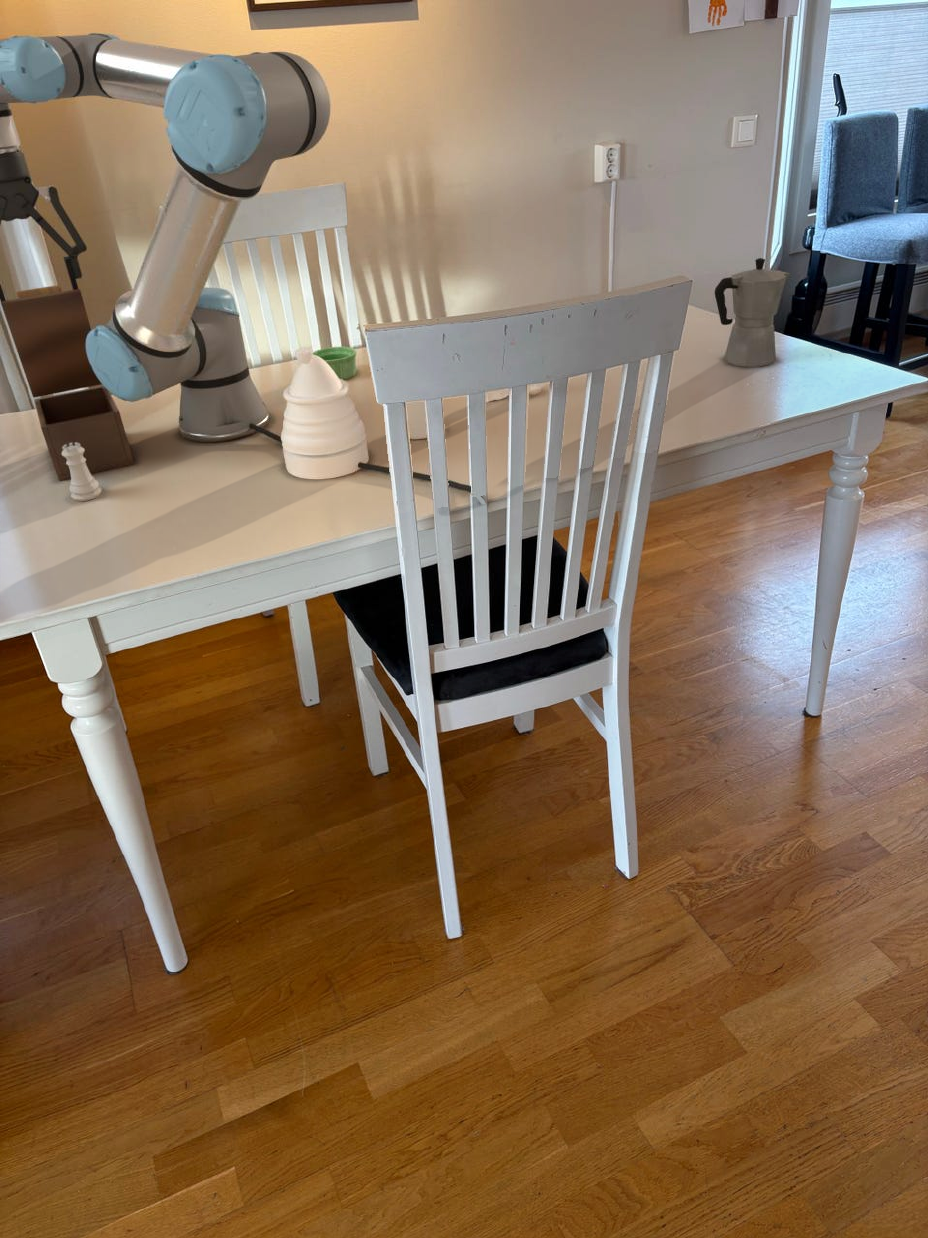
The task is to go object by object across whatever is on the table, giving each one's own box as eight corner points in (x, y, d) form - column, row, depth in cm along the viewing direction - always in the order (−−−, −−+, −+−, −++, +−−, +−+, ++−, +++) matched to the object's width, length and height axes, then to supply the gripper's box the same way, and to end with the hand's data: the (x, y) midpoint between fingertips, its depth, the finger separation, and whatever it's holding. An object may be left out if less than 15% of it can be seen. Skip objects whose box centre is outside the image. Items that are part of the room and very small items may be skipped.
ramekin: (356, 381, 173) (353, 358, 170) (309, 384, 173) (306, 361, 171) (361, 366, 180) (358, 345, 178) (316, 369, 181) (313, 347, 178)
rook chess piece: (108, 492, 136) (93, 442, 132) (84, 504, 133) (67, 453, 128) (89, 487, 138) (74, 437, 134) (65, 498, 135) (48, 448, 131)
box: (134, 463, 145) (119, 411, 140) (58, 480, 141) (40, 427, 136) (120, 434, 157) (106, 384, 152) (50, 449, 153) (33, 399, 148)
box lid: (80, 290, 140) (73, 274, 143) (0, 303, 136) (-4, 286, 140) (105, 383, 152) (99, 366, 155) (33, 397, 148) (27, 379, 151)
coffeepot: (763, 347, 173) (775, 248, 164) (795, 360, 166) (809, 257, 156) (694, 361, 169) (702, 260, 160) (724, 374, 162) (733, 269, 152)
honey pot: (349, 481, 133) (331, 361, 123) (271, 476, 137) (248, 358, 127) (380, 448, 143) (366, 334, 134) (307, 444, 147) (289, 332, 137)
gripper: (73, 141, 139) (113, 289, 151) (-90, 158, 131) (-34, 313, 143) (78, 143, 133) (119, 298, 145) (-92, 162, 126) (-34, 323, 138)
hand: (43, 305), depth 144 cm, fingers open, 10 cm apart
